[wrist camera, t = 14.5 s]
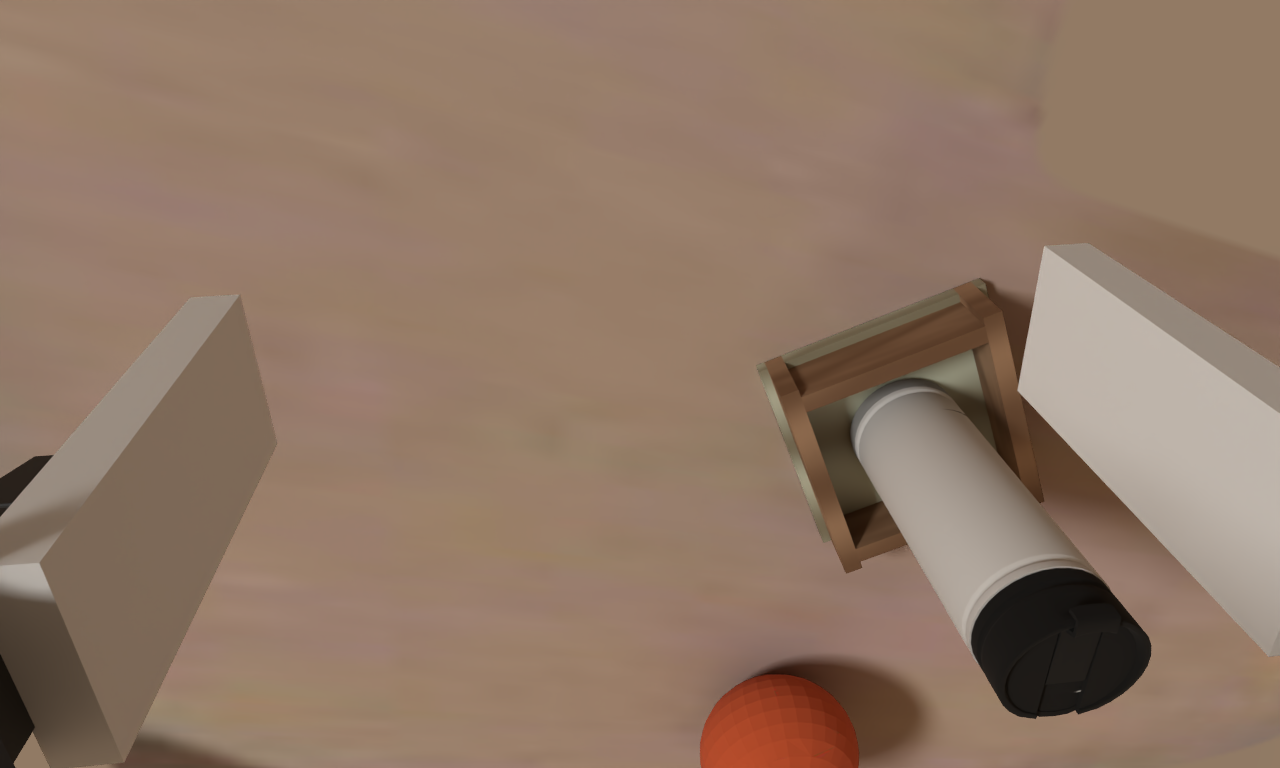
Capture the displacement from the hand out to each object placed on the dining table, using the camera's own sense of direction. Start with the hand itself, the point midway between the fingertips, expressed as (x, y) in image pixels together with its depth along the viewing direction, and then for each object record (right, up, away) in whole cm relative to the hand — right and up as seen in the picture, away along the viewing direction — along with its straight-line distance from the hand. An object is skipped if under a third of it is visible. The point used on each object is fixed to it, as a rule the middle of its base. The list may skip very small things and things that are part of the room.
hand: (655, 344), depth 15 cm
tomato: (+8, -22, +49) cm, 54 cm away
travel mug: (+15, -3, +38) cm, 41 cm away
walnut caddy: (+15, -2, +39) cm, 42 cm away
